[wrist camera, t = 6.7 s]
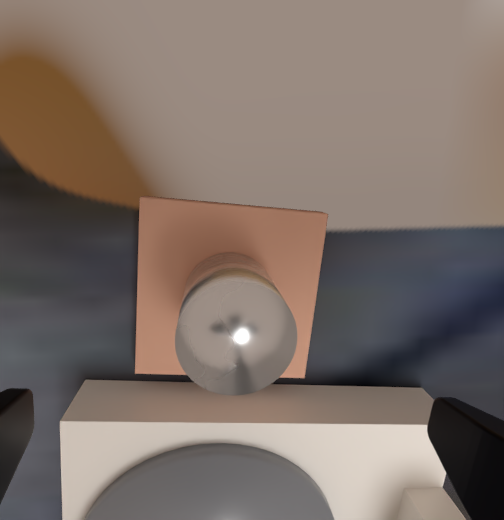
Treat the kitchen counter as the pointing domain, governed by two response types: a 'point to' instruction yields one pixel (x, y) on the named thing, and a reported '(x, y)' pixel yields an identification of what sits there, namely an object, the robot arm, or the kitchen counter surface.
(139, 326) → the rubber mat
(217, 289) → the cylinder
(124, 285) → the kitchen counter surface
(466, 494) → the robot arm
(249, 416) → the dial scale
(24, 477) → the kitchen counter surface
